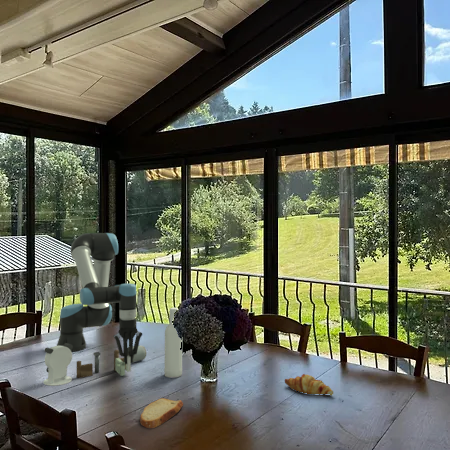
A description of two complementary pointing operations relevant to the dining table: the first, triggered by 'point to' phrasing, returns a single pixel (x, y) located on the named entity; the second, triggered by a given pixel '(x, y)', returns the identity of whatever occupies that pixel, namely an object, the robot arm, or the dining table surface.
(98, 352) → the post
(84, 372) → the fence far side
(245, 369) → the dining table surface
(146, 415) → the slice of bread
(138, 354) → the ceramic mug
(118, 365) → the gate
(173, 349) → the bottle
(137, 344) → the robot arm
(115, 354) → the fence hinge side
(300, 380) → the croissant
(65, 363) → the cream upright rounded piece
